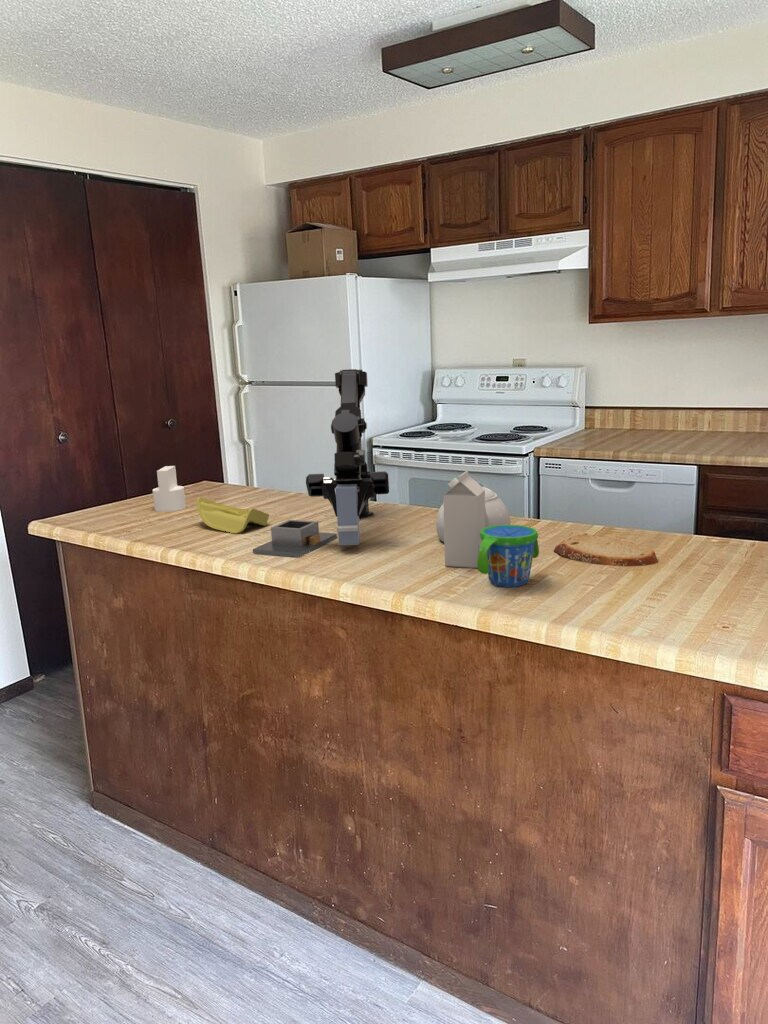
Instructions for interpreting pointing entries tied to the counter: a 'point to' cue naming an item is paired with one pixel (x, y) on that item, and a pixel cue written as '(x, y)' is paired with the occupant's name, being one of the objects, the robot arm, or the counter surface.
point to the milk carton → (463, 521)
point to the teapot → (493, 513)
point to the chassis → (294, 539)
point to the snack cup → (507, 554)
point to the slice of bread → (605, 551)
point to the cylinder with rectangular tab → (168, 491)
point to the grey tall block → (347, 514)
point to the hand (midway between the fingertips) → (347, 515)
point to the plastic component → (228, 516)
